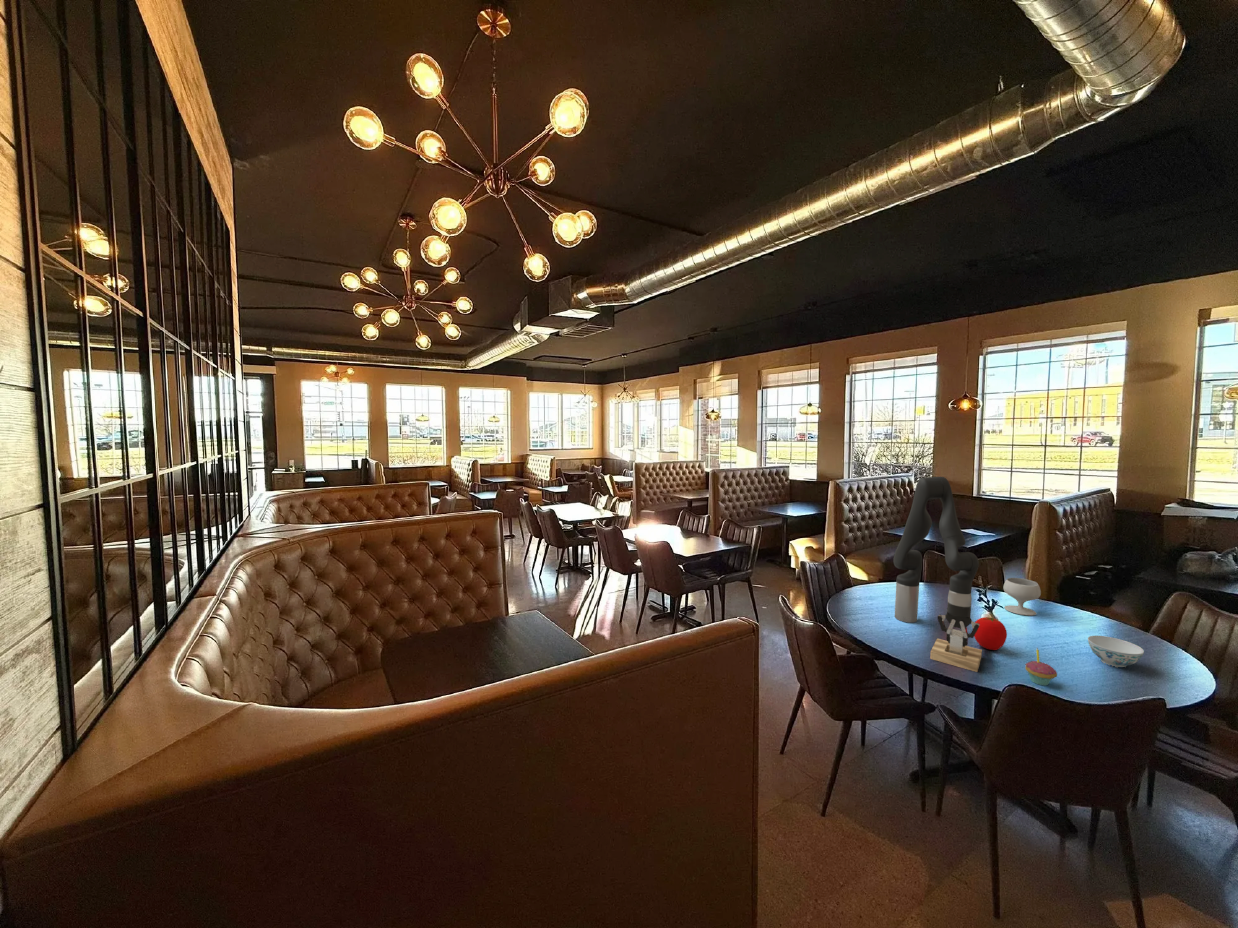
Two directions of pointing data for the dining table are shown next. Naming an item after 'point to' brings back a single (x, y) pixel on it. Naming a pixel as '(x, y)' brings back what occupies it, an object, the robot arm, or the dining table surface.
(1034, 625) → the dining table surface
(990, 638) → the tomato
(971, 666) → the well block
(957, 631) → the grey stepped wood block
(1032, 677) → the cupcake
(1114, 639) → the chinaware
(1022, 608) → the chalice
